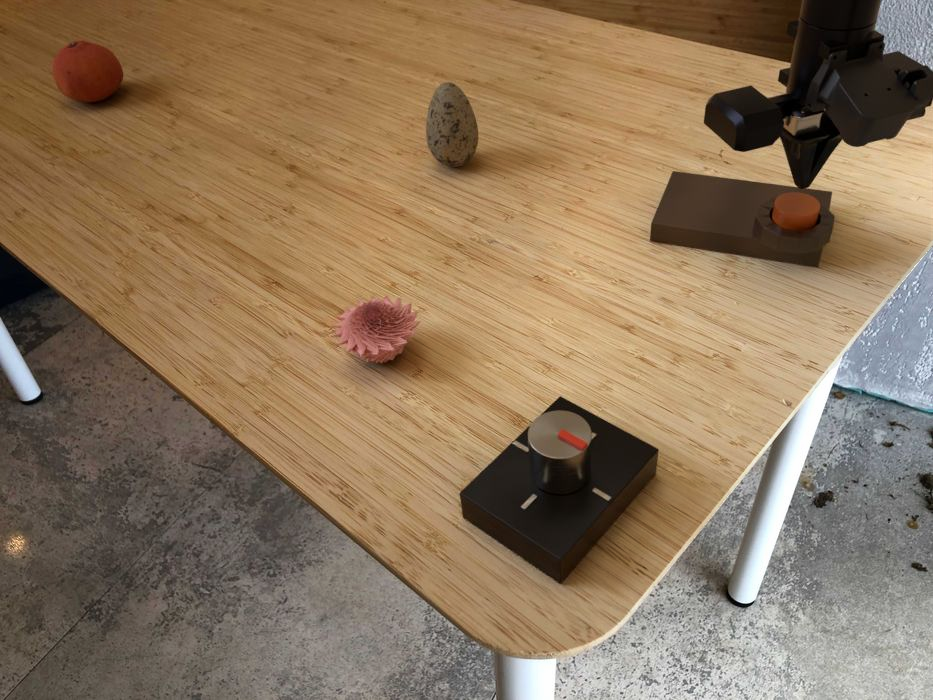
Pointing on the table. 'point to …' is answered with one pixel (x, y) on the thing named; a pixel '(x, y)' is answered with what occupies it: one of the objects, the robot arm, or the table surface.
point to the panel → (559, 497)
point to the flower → (376, 329)
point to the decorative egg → (451, 126)
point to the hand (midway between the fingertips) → (801, 186)
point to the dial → (560, 452)
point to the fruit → (87, 71)
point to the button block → (737, 219)
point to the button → (796, 211)
